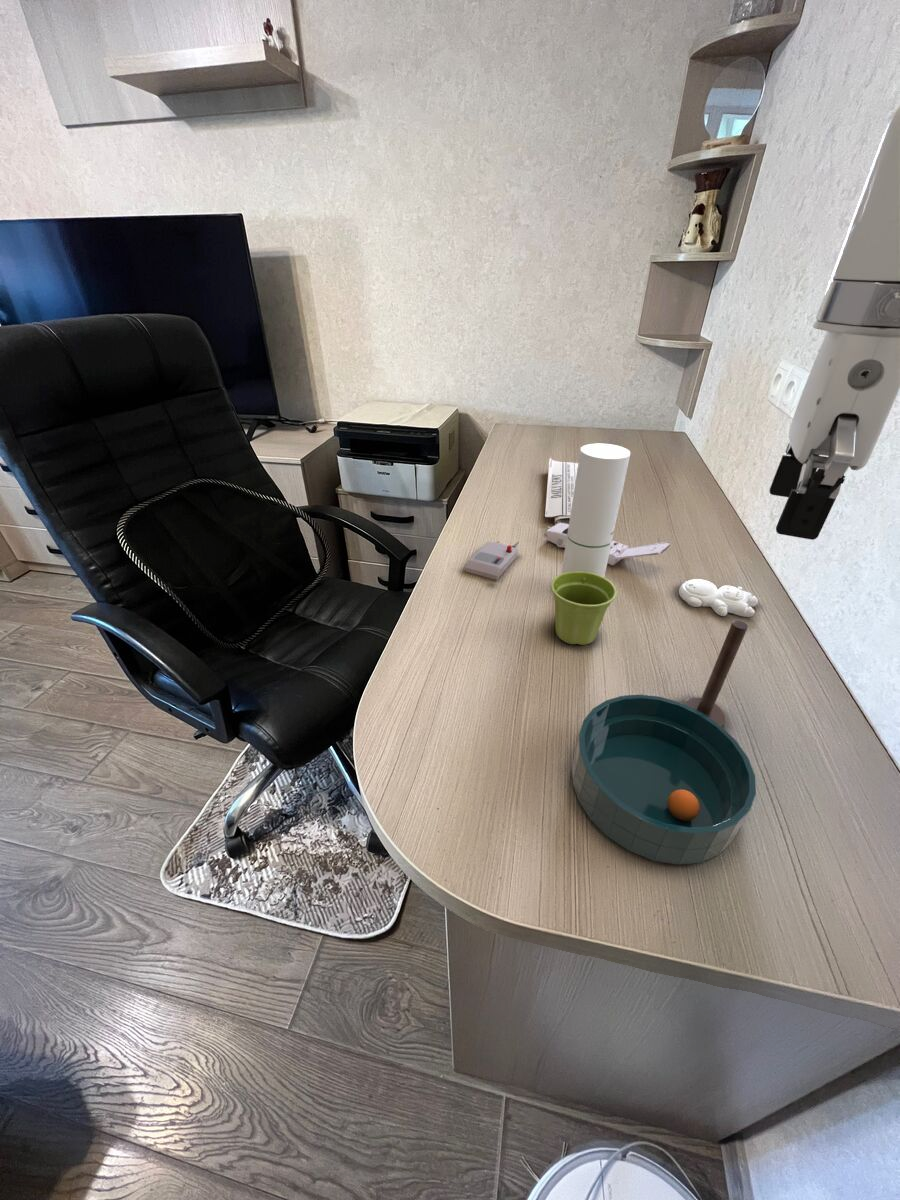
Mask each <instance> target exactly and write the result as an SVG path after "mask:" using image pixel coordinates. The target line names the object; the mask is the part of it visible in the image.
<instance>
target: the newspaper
mask: <svg viewBox="0 0 900 1200" xmlns="http://www.w3.org/2000/svg"><path fill="white" fill-rule="evenodd" d="M548 461H549V462H548V472H547V484H546V496H545V497H546V498H545V511H544V513H545V514H544V516H545V518H554V525H556V524H558V523H565V524H569V521H570V514H571V508H572V501H573V495H574V488H575V482H576V476H577V469H578V463H579V462H573V461H572V462H571V461H570V462H569V461H558V460H554V459H552V458H551V457H549V459H548Z"/></svg>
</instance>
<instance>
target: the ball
mask: <svg viewBox="0 0 900 1200" xmlns="http://www.w3.org/2000/svg"><path fill="white" fill-rule="evenodd" d="M668 808H669V810H670V812H671V813H672V815H673V816H675V817H676V818H678V819H680V820H683V821H689V820H692V819H694V818H695V817H696V816H697V815H698V813H699V809H700V806H699V802H698V800H697V798H696V797H695V796H694V795H693V794H692V793H691V792H689V791H687V790H682V789H680V790H676V791H674V792H672V793H671V794H670V796H669V798H668Z"/></svg>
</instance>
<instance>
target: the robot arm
mask: <svg viewBox="0 0 900 1200" xmlns="http://www.w3.org/2000/svg"><path fill="white" fill-rule="evenodd" d="M876 151H877V152H876V154H875V157H874V160H873V163H872V165H871V167H870V171H869V174H868V176H867V179H866V181H865V184H864V186H863V190H862V193H861V195H860V198H859V201H858V203H857V206H856V209H855V212H854V213H853V217H852V219H851V222H850V225H849V227H848V231H847V233H846V235H845V239H844V241H843V244H842V247H841V250H840V252H839V255H838V258H837V261H836V262H835V266H834V268H833V271H832V273H831V276H830V280H829V281H828V285H827V287H826V290H825V294H824V295H823V298H822V301H821V304H820V305H819V309H818V311H817V315H816V317H815V320H814V323H813V326H812V328H813V329H816V330H821V331H825V332H826V333H825V335H824V337H823V340H822V342H821V345H820V346H819V349H818V351H817V354H816V357H815V360H814V361H813V364H812V366H811V368H810V371H809V374H808V376H807V379H806V382H805V384H804V386H803V389H802V392H801V394H800V397H799V400H798V403H797V406H796V408H795V411H794V414H793V417H792V420H791V423H790V427H789V431H788V439H789V442H788V444H787V446H786V449H785V454H783V455H781V459H780V461H779V464H778V467H777V469H776V471H775V474H774V477H773V479H772V482H771V484H770V487H769V494H770V495H771V496H777V497H784V498H787V500H786V502H785V504H784V507H783V510H782V512H781V514H780V517H779V519H778V522H777V524H776V526H775V532H776V534H778V535H783V536H789V537H793V538H799V539H805V540H810V541H813V540H816V539H817V538H818V537H819V535H820V533H821V531H822V530H823V527H824V525H825V523H826V521H827V519H828V517H829V515H830V512H831V510H832V508H833V506H834V503H835V502H836V499H837V497H838V496H839V493H840V491H841V487H842V484H844V483H845V479H846V475H845V473H846V472H847V470H848V469H850V470H852V471H859V470H861V469H863V468H864V467H866V465H867V464H868V462H869V460H870V458H871V456H872V453H873V452H874V449H875V447H876V445H877V442H878V440H879V437H880V435H881V433H882V431H883V428H884V427H885V424H886V422H887V419H888V417H889V415H890V412H891V410H892V407H893V405H894V403H895V401H896V398H897V396H898V393H899V391H900V105H899V106H898V107H897V108H896V110H895V111H894V113H893V114H892V116H891V118H890V120H889V121H888V123H887V126H886V128H885V131H884V133H883V135H882V137H881V141H880V143H879V147H878V149H877V150H876Z"/></svg>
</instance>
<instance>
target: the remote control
mask: <svg viewBox="0 0 900 1200" xmlns="http://www.w3.org/2000/svg"><path fill="white" fill-rule="evenodd" d="M518 544H520V541H516V543H514V544H513V545H508V544H503V543H500V541H499V540H498V541H497V542H495V541H486V542H485V543H484V544H483V545H482V546H481V547H480V548H479V549H478V550H476V552H475V553H474V554H473V555H472V556H471V557H470V558H469V559H468V560H467V562H466V564H465V566H464V572H466V573H469V574H472V575H476V576H480V577H484V578H487V579H491V580H495V581H497V580H499V578H500V577H501V576H502V575H503V573H504V572H505V571H506V570H507V569H508V567H510V565H511V564H512V563H513V562H514V560H515V559H516V558H517V557H518V549H517V548H516V547H518ZM478 582H480V581H478Z"/></svg>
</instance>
